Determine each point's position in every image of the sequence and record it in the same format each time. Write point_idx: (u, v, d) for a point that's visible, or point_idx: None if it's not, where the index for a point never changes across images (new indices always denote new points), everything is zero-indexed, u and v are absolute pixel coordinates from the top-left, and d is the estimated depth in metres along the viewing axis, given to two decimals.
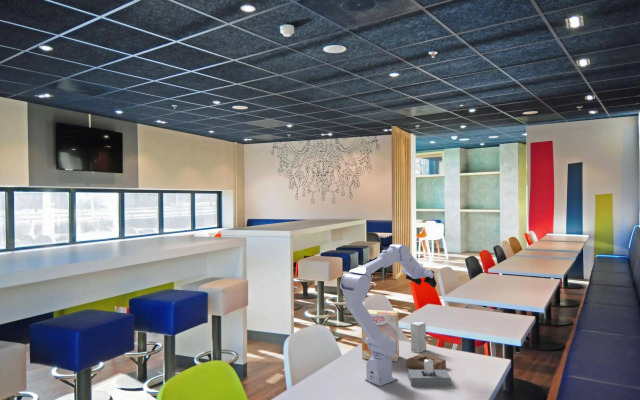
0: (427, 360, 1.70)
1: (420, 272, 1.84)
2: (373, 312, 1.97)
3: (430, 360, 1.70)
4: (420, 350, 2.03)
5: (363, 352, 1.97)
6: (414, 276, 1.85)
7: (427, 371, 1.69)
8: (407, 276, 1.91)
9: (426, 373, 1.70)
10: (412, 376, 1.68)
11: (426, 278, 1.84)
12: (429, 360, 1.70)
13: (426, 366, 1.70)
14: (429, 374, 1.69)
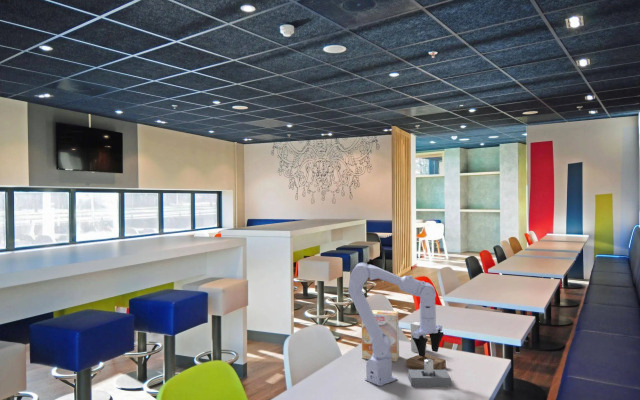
0: (427, 360, 1.70)
1: (421, 328, 1.69)
2: (373, 312, 1.97)
3: (430, 360, 1.70)
4: None
5: (363, 352, 1.97)
6: None
7: (427, 371, 1.69)
8: None
9: (426, 373, 1.70)
10: (412, 376, 1.68)
11: None
12: (429, 360, 1.70)
13: (426, 366, 1.70)
14: (429, 374, 1.69)
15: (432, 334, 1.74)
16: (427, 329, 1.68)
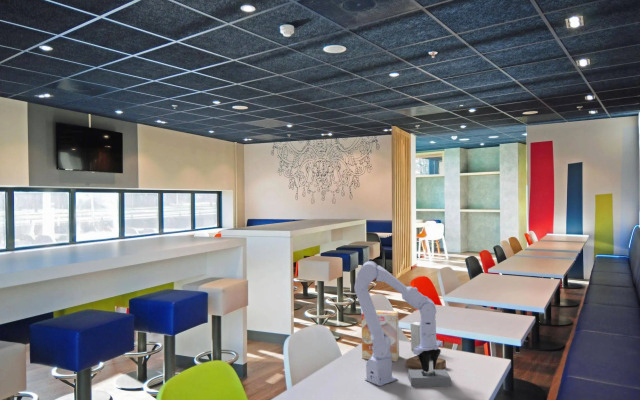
0: None
1: (422, 344, 1.69)
2: None
3: (430, 360, 1.70)
4: None
5: (363, 352, 1.97)
6: None
7: None
8: None
9: (426, 373, 1.70)
10: (412, 376, 1.68)
11: None
12: None
13: None
14: (429, 374, 1.69)
15: (429, 351, 1.72)
16: (427, 345, 1.68)
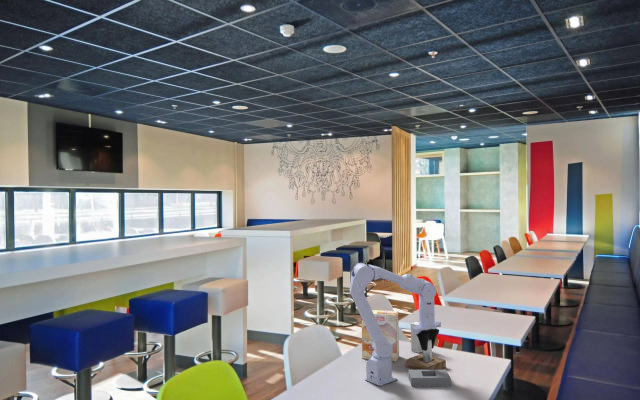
0: None
1: (421, 324, 1.74)
2: (373, 312, 1.97)
3: (429, 339, 1.75)
4: (420, 350, 2.03)
5: (363, 352, 1.97)
6: None
7: None
8: None
9: (425, 352, 1.75)
10: (412, 376, 1.68)
11: None
12: (428, 340, 1.75)
13: None
14: (428, 353, 1.74)
15: (428, 331, 1.77)
16: (426, 325, 1.73)
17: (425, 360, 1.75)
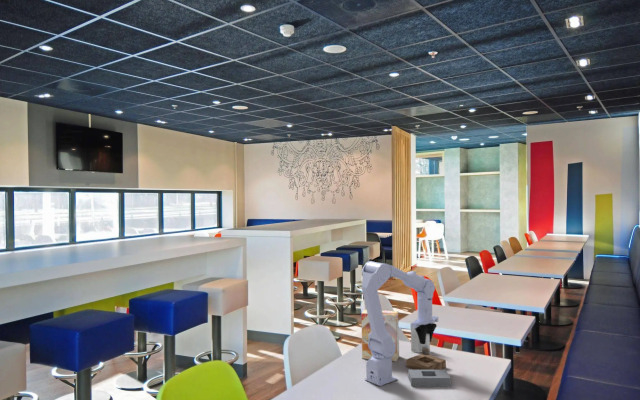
0: None
1: (419, 319, 1.84)
2: None
3: (427, 333, 1.85)
4: (420, 350, 2.03)
5: (363, 352, 1.97)
6: None
7: None
8: None
9: (423, 345, 1.84)
10: (412, 376, 1.68)
11: None
12: (426, 334, 1.85)
13: None
14: (426, 346, 1.84)
15: (426, 325, 1.87)
16: (424, 320, 1.83)
17: (423, 353, 1.84)
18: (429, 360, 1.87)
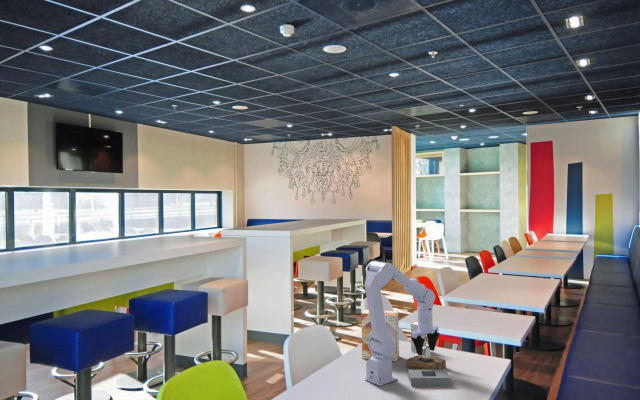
0: (424, 347, 1.85)
1: (419, 328, 1.84)
2: None
3: (427, 347, 1.85)
4: None
5: (363, 352, 1.97)
6: None
7: (425, 357, 1.84)
8: None
9: (423, 359, 1.84)
10: (412, 376, 1.68)
11: None
12: (426, 347, 1.85)
13: (423, 353, 1.84)
14: (426, 360, 1.84)
15: (429, 334, 1.88)
16: (424, 330, 1.83)
17: None
18: None
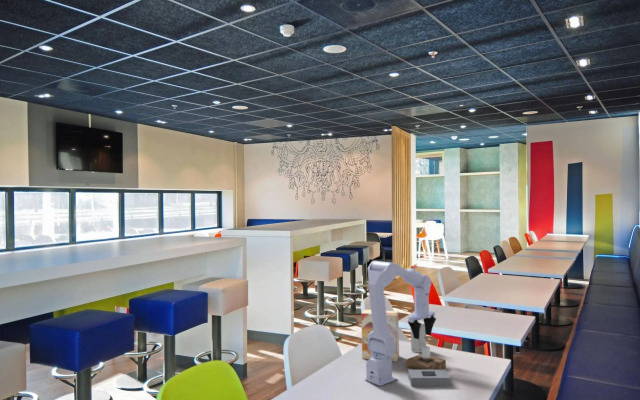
0: (424, 347, 1.85)
1: (416, 313, 1.90)
2: None
3: (427, 347, 1.85)
4: (420, 350, 2.03)
5: (363, 352, 1.97)
6: None
7: (425, 357, 1.84)
8: None
9: (423, 359, 1.84)
10: (412, 376, 1.68)
11: None
12: (426, 347, 1.85)
13: (423, 352, 1.84)
14: (426, 360, 1.84)
15: (426, 319, 1.94)
16: (421, 314, 1.88)
17: None
18: None
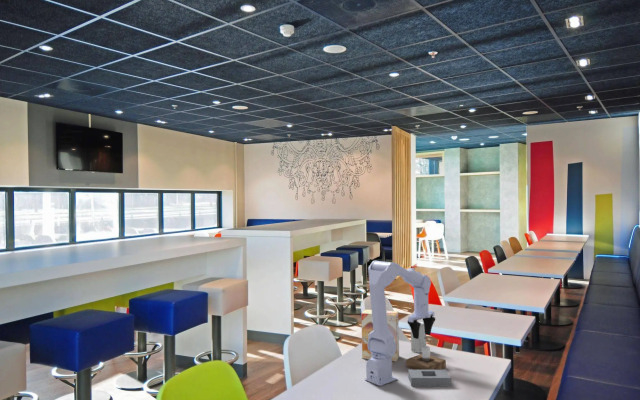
0: (424, 347, 1.85)
1: (416, 313, 1.90)
2: None
3: (427, 347, 1.85)
4: (420, 350, 2.03)
5: (363, 352, 1.97)
6: None
7: (425, 357, 1.84)
8: None
9: (423, 359, 1.84)
10: (412, 376, 1.68)
11: None
12: (426, 347, 1.85)
13: (423, 352, 1.84)
14: (426, 360, 1.84)
15: (425, 319, 1.95)
16: (420, 314, 1.89)
17: None
18: None
